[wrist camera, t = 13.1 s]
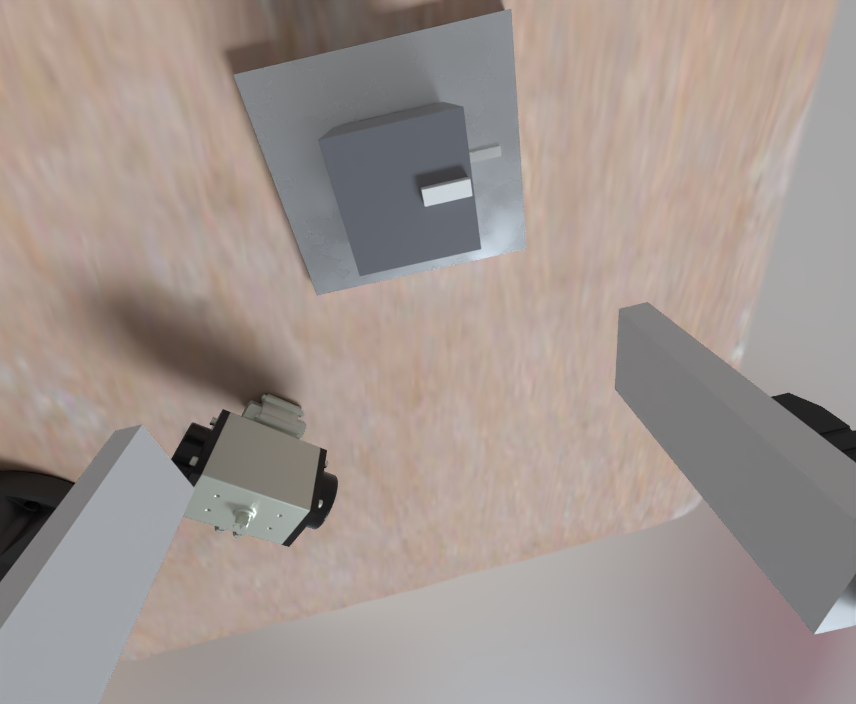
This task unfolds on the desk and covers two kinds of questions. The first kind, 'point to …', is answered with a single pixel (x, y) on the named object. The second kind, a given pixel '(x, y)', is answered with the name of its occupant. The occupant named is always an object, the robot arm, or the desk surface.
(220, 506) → the pneumatic valve
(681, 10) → the desk surface
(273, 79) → the grey peg base
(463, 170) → the grey cabinet with handle
